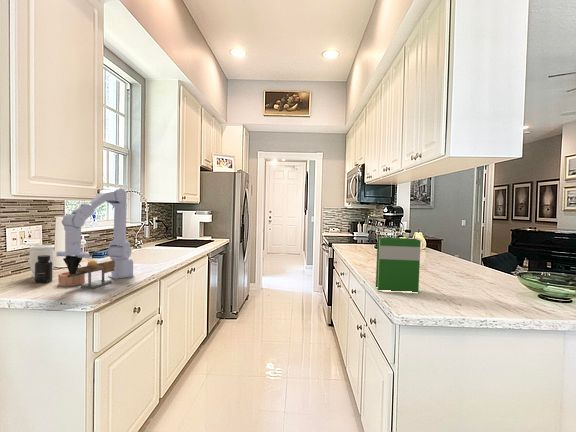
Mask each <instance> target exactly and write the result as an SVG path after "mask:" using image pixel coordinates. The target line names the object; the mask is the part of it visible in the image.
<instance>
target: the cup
mask: <svg viewBox="0 0 576 432" xmlns="http://www.w3.org/2000/svg"><path fill="white" fill-rule="evenodd" d="M76 273H77V271H76ZM67 275H70V274H69V271H66V272H65V271H64V272H60V273H59V274H58V275H57V276H58V277H57V278H58V279H57V280H58V283H57V284H58V286H60V287H61V286H62V287H75V286H79V285H80V286H81V285H84V284H85V283H86V273H85V274H81V275H77V276H73V277H68V276H67Z"/></svg>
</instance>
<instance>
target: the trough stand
mask: <svg viewBox="0 0 576 432" xmlns="http://www.w3.org/2000/svg"><path fill="white" fill-rule="evenodd" d="M87 280H88V281H87V282H88V283H86V284H85V283H84V284H80V289H89V290H90V289H91V290H93V289H94V290H95V289H97V288H100V287H102V286H106V285H108V284H112V280H109V279H105V273H104V271H103V270H101V279H98V280H95V281H92V272H91V270H88V273H87Z"/></svg>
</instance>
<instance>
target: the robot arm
mask: <svg viewBox="0 0 576 432" xmlns="http://www.w3.org/2000/svg"><path fill="white" fill-rule="evenodd" d="M127 197H128V196H127V192H126V190H125V189H124V188H122V187H103V188H101V189H100V190H99V193H98V194H97V195H96V196H95V197H94V198H93V199H92V200H91V201H89V202H88V203H85V202H84V203H80V206H78V207H77V208H75V209H74V210H72V212H70V213H67V214H64V216H63V217H62V220H61V224H62V226H63V230H64V233H65V234H64V235H65V238H64V251H62V250H61V251H60V250H59V251H56V254H55V257H63V259H62V260H63V262H64V263H65V265H66V267H67V269H68V272H69V274H75V273H76V271H77V268H79V265H80V263H81V261H82V260H83V259H88V258H90V255H91V253H89V252H82V245H81V244H82V227H83V226H84V225H85V222H86V220H88V218H90V217H91V216H92V215H94V213H95V209H97V208H99V206H101V205H102V204H105V202H107V203H108V204H109V205H111V206H112V207H113V208H114V209H113V210H114V211H113V212H114V213H113V214H114V215H113V217H114V218H113V239H112V240H111V241H110V242H109V244H108V248H107V256H108V257H109V259H110V260H111V261H113V260H114V261H115V267H114V271H111V272H110V273H111V274H108V275H107V276H108V277H109V278H112V279H115V280H116V279H122V278H123V279H124V278H130V277H134V276H135V275H134V261H133V259H132V257H131V255H132V248H131V243H130V241H128V240H127V239H126V237H127V236H126V235H127V209H128V208H127V204H128V203H127Z"/></svg>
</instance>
